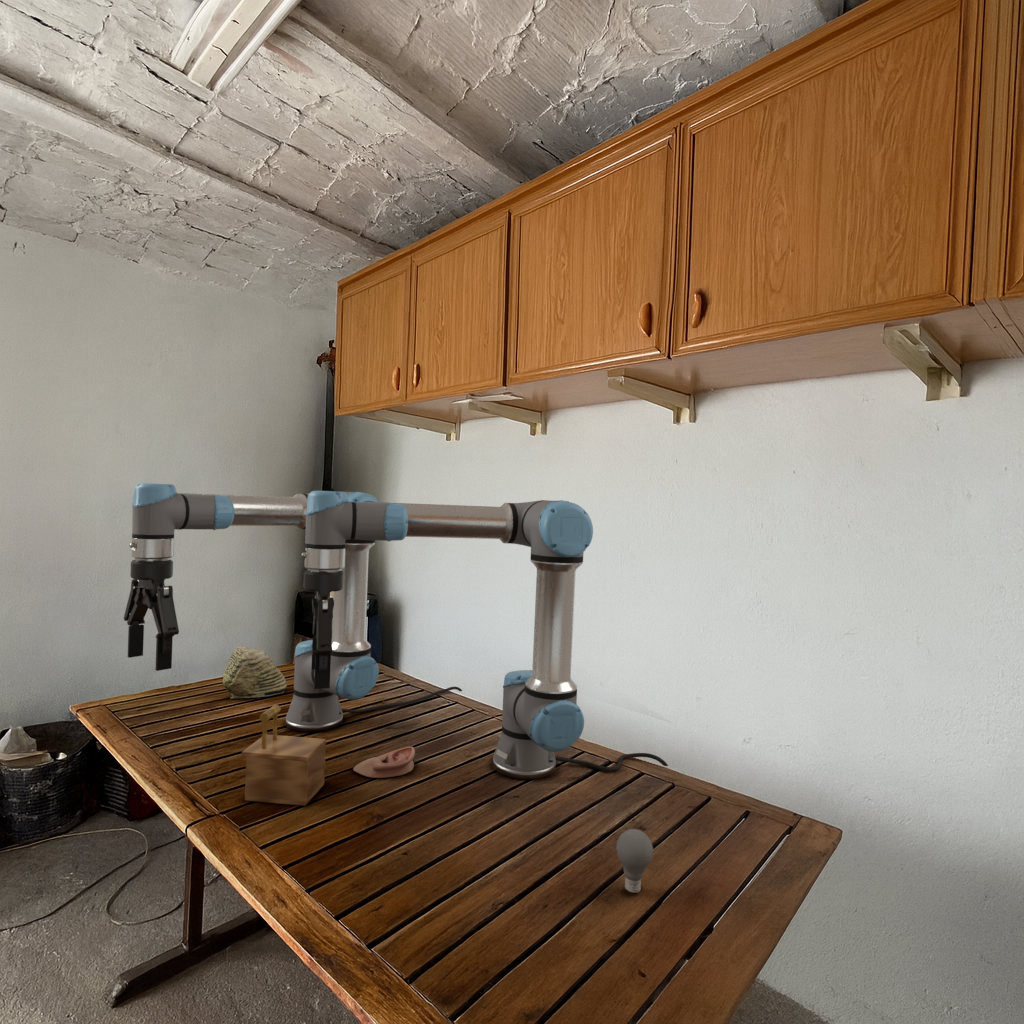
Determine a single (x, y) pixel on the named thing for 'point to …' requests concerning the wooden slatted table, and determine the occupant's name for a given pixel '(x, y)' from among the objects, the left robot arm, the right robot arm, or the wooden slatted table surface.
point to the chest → (284, 779)
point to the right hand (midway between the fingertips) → (320, 678)
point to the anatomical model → (388, 764)
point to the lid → (282, 742)
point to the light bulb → (634, 857)
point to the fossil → (252, 674)
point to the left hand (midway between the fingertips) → (148, 662)
